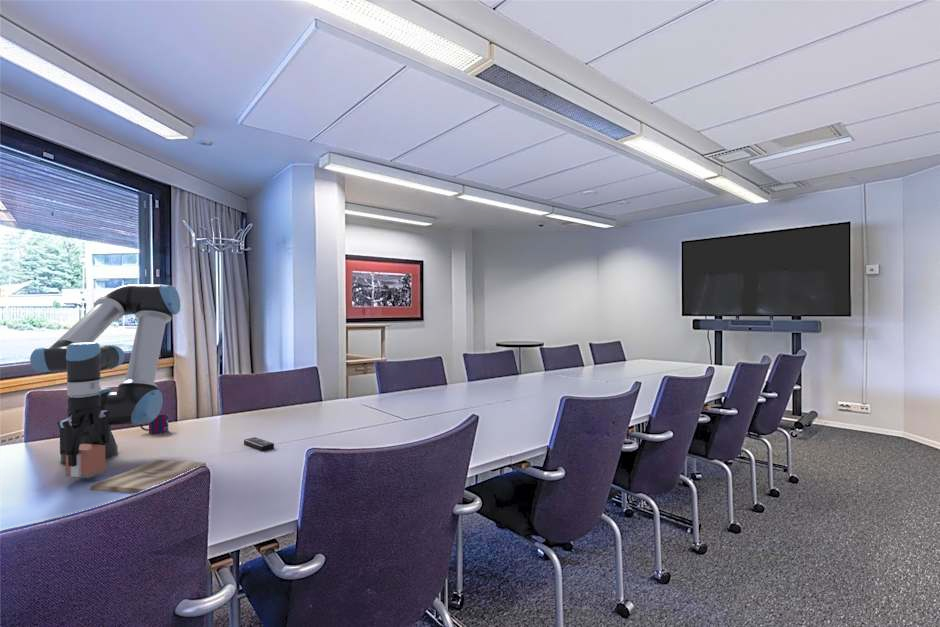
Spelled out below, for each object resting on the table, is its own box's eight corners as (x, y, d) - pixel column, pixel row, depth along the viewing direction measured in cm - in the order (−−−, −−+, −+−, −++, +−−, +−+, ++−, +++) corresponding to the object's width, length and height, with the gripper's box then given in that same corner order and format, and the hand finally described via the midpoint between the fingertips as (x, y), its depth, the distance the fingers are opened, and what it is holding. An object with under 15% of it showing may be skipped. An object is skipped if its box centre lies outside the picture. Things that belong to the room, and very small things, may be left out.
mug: (163, 434, 184) (163, 417, 184) (136, 435, 183) (136, 418, 183) (171, 430, 191) (171, 414, 191) (145, 431, 189) (145, 415, 189)
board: (90, 489, 126) (90, 485, 126) (157, 463, 147) (157, 459, 147) (145, 493, 123) (145, 488, 123) (205, 466, 144) (205, 462, 144)
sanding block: (65, 476, 131) (65, 449, 131) (83, 469, 136) (82, 443, 136) (88, 477, 129) (88, 450, 129) (105, 471, 134) (105, 445, 134)
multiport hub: (262, 452, 160) (262, 446, 160) (243, 445, 168) (243, 439, 168) (274, 449, 163) (274, 443, 163) (255, 442, 172) (255, 436, 172)
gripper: (62, 402, 123) (64, 485, 123) (123, 389, 140) (125, 462, 141) (39, 401, 124) (41, 483, 124) (103, 388, 142) (104, 461, 142)
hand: (86, 472), depth 133 cm, fingers closed on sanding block, 5 cm apart
